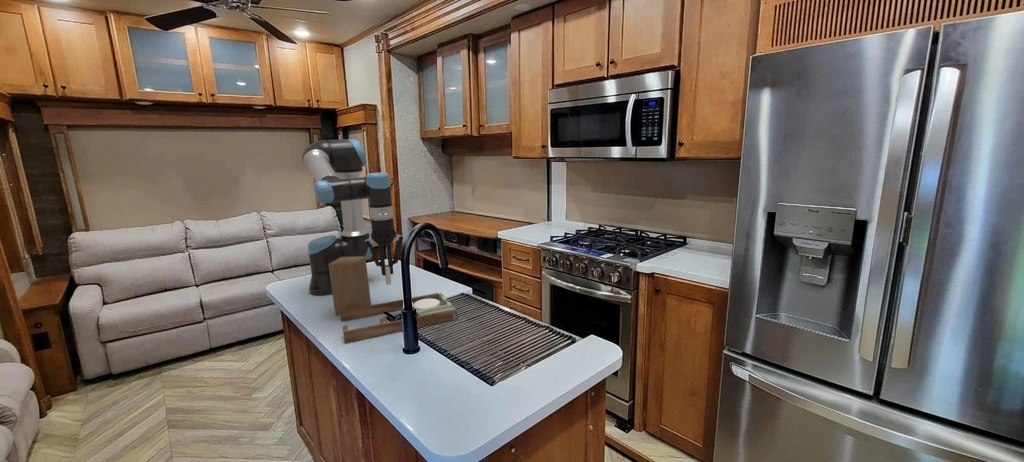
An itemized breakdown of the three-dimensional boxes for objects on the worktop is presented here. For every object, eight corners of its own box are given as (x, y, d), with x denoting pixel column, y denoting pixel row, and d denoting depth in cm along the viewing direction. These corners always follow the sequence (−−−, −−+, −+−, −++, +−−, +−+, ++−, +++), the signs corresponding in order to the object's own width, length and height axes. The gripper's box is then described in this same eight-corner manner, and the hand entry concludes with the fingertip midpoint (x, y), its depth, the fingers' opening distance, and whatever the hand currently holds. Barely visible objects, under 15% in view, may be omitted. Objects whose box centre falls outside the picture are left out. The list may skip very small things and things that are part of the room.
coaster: (441, 305, 164) (440, 297, 163) (440, 315, 154) (439, 306, 154) (415, 307, 163) (414, 299, 162) (412, 318, 153) (411, 309, 153)
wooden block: (371, 305, 167) (365, 256, 163) (360, 315, 157) (353, 263, 153) (347, 305, 168) (341, 256, 164) (334, 315, 158) (327, 263, 154)
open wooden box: (341, 320, 153) (339, 311, 153) (441, 300, 168) (440, 292, 168) (344, 343, 135) (343, 332, 134) (457, 319, 150) (456, 309, 149)
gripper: (363, 222, 139) (370, 290, 145) (403, 218, 145) (409, 283, 150) (360, 218, 146) (368, 283, 151) (399, 214, 151) (404, 277, 157)
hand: (388, 283), depth 151 cm, fingers closed
